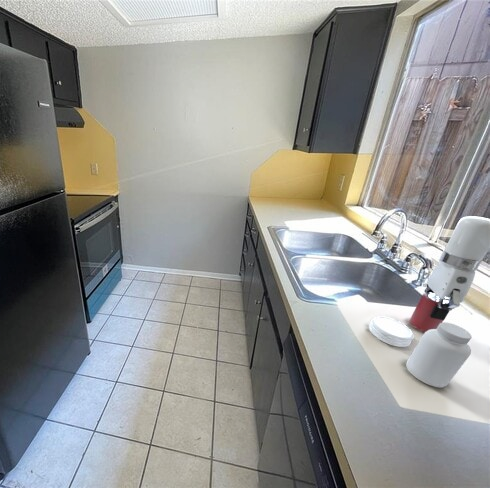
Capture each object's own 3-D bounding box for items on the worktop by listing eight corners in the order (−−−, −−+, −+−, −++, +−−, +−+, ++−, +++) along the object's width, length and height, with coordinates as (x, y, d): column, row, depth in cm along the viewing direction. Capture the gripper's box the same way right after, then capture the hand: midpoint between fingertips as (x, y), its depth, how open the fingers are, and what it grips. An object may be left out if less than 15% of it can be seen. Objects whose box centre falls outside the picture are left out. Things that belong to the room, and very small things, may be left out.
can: (431, 323, 84) (447, 295, 79) (440, 336, 78) (458, 307, 74) (405, 317, 86) (419, 289, 82) (413, 329, 81) (429, 300, 76)
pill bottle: (437, 393, 61) (471, 346, 55) (398, 367, 68) (424, 322, 61) (453, 382, 64) (487, 336, 58) (415, 358, 71) (441, 314, 64)
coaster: (415, 352, 72) (421, 343, 71) (373, 341, 76) (378, 332, 74) (401, 329, 81) (406, 320, 80) (364, 320, 84) (368, 311, 83)
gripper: (498, 277, 64) (462, 333, 71) (460, 251, 79) (433, 299, 86) (458, 270, 67) (427, 324, 74) (428, 246, 81) (405, 293, 89)
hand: (431, 310), depth 80 cm, fingers closed on can, 6 cm apart
